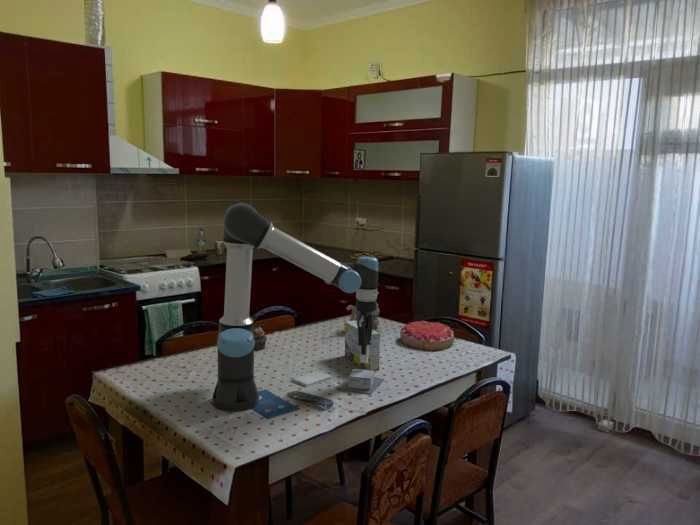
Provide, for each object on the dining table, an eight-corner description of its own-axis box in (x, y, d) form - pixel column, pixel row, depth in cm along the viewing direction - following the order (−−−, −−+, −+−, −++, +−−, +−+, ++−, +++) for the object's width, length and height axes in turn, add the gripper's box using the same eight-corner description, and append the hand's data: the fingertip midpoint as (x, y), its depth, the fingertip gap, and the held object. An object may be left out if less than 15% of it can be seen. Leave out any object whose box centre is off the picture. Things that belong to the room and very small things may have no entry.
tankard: (367, 326, 283) (368, 297, 280) (384, 332, 273) (386, 302, 271) (336, 332, 270) (337, 302, 268) (353, 339, 260) (354, 307, 258)
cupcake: (262, 352, 237) (263, 329, 235) (241, 350, 238) (241, 327, 237) (269, 345, 246) (269, 323, 245) (248, 344, 248) (248, 322, 246)
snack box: (343, 355, 235) (344, 321, 233) (355, 354, 238) (356, 319, 236) (367, 371, 217) (369, 334, 215) (380, 369, 219) (381, 332, 217)
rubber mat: (370, 394, 194) (370, 393, 194) (336, 388, 198) (336, 387, 198) (384, 379, 208) (384, 378, 208) (351, 374, 213) (351, 373, 213)
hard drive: (316, 370, 213) (291, 378, 204) (331, 375, 208) (306, 383, 199) (316, 374, 214) (291, 382, 205) (331, 380, 208) (306, 388, 199)
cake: (425, 329, 277) (426, 314, 275) (465, 344, 258) (466, 327, 256) (389, 340, 261) (389, 324, 259) (428, 357, 242) (429, 339, 241)
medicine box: (353, 379, 207) (347, 388, 198) (353, 368, 206) (348, 376, 198) (374, 381, 205) (369, 390, 196) (374, 370, 204) (369, 378, 196)
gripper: (370, 304, 195) (368, 369, 198) (381, 297, 207) (379, 358, 210) (350, 301, 197) (348, 366, 201) (362, 295, 209) (360, 355, 213)
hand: (364, 362), depth 206 cm, fingers closed
